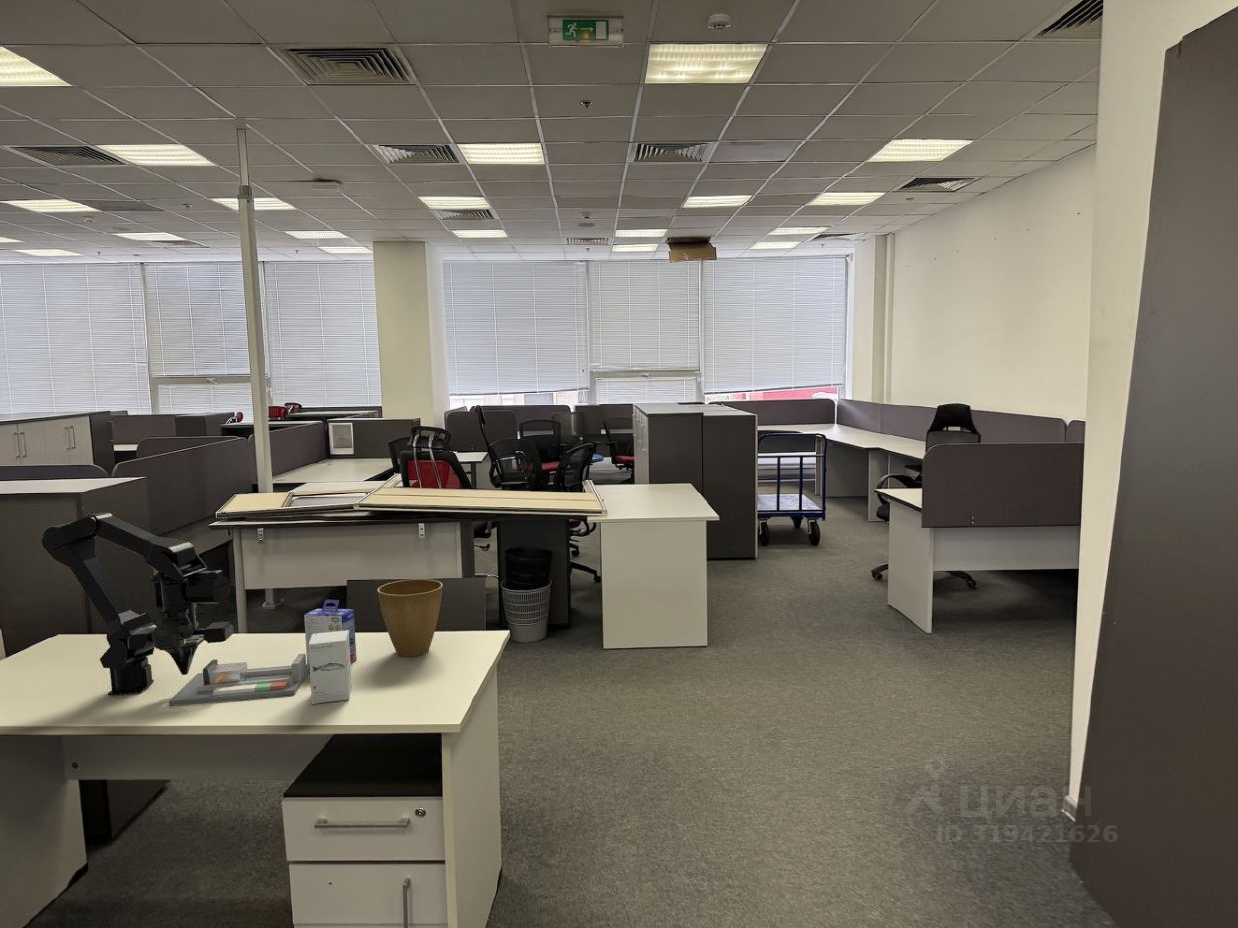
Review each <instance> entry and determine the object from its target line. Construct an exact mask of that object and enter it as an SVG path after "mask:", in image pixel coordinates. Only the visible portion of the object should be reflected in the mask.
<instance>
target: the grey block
mask: <svg viewBox="0 0 1238 928" xmlns="http://www.w3.org/2000/svg"><path fill="white" fill-rule="evenodd" d="M218 662H219V661H218V659H211V661H210V662H209V663H207V665H205V666H204V667H203V668H202V673H203V680H204V685H212V684H223V683H235V682H243V680H244V679H245V678H246V677H247V676H248V669H249V668H248V662H247V661H242V662H241V661H239V662H231V663H230V662H229V663H218Z"/></svg>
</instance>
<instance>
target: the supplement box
mask: <svg viewBox="0 0 1238 928" xmlns="http://www.w3.org/2000/svg"><path fill="white" fill-rule="evenodd" d="M309 664H310V672H309V674H310V675H309V676H310V680H309V681H310V692H311V693H310V694H311V696H310V697H311V704H312V705H316V704H321V703H322V704H323V703H331V702H337V701H348V700H350V695H351V690H352V668H351V666H352V665H351V664H352V663H350V646H349V630H346V631H337V632H326V633H316V634H312V636H311V639H310V642H309Z"/></svg>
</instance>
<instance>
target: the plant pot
mask: <svg viewBox="0 0 1238 928" xmlns="http://www.w3.org/2000/svg"><path fill="white" fill-rule="evenodd" d="M443 586H444V585H443V582H441V581H438V580H434V579H422V578H420V579H419V578H417V579H416V578H415V579H403V580H398V581H393V582H389V583H385V584H384V585H381V586H379V587H378V588H377V597H378V600H379V605H380V610H381V613H382V618H383V622H384V623H385V628H386V631H387V632H388V635H389V638H390V642H391V644H392V646H393V648H394V650H395V652H396V654H397V655H398V656H400V657H405V658H411V657H418V655H419V656H422V654H423V655H424V653H425V654H427V653H428V651H430V648H431V645H432V642H433V639H434V635H435V632H436V627H437V625H438V624H437V623H438V620H439V614H440V608H441V603H442V594H443ZM426 652H427V653H426Z"/></svg>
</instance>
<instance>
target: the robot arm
mask: <svg viewBox="0 0 1238 928" xmlns="http://www.w3.org/2000/svg"><path fill="white" fill-rule="evenodd" d="M96 537H100V538H102V539H104V540H107V541H109V542H111V543H113V544H115V545H117V546H119V547H121V548H124V549H126V550H128V551H130V552H133V553H135V554H137V555H139V556H141V558H143V559H144V561H145V562H146V564H147V565H148V566H149V567H150V568H152V569H154V570H155V571H157V573H156V575H155V576H153V577H152V578H151V579H150V583H153V584H155V583H156V584H160V586H161V587H160V588H161V600H162V609H163V610H161V611H160V620H159V623H158V624H157V625H155V623H154V622H153V621H152V619H151V617H150V615H149V614H148V613H147V612H144V613H142V614H138V613H136V612H134V611H132V609H131V608H130V606H129V605H128V604H127V602H126V600H125V599H124V597H123V596H122V594H121V592H120V591H119V589H118V588H117V587H116V584H115V583H114V582H113V580H112V578H111V576H109V574H108V573H107V571H106V570H105V568H104V567H103V564H102V563H101V562H100V560H99V559H98V558H97V556H96V550H97V549H96V548H97V541H96ZM41 545H42V546H43V548H44V549H45V551H46V553H47V554H49V555H50V556H51V557H52V559H54V561H56V562H58V563H60V564H62V565H64V566H67V567H68V568H69V569H70V571H71V572H72V573H73V575H74V576H75V578H76V579H77V581H78V583H79V585H80V586H81V587H82V588H83V590H84V592H85V593H86V595H87V596H88V597H89V599H90V600H91V602H92V604H93V605H94V607H95V609H96V610H97V611H98V613H99V615H100V616H101V617H102V620H103V621H104V622H105V624H106V641H107V644H108V645H109V648H108V649H107V650H105V652H104V653H103V655H101V657H100V658H99V661H100V665H101V666H102V668H103V669H109V674H110V685H111V690H109V692H108V693H107V696H109V695H110V696H121V695H129V694H131V695H132V694H141V693H143V692H144V691H145V690H146V689H147V688H149V686H150V685H152V684H153V683H154V682H155V680H154V679H153V672H152V665H151V664H150V663H149V658H148V657H149V656H152V655H153V654H154V651H155V649H156V650H159V651H164V652H166V653H167V654H169V655H170V657H171V658H172V660H173V661H174V663H175V665H176V666H177V668H178V670H179V671H180V674H181V675H182V676H186V675H188V674H189V671H190V669H191V665H192V663H193V659H194V657H195V655H196V651H197V649H198V648H199V646H200V645H201V644H202V643H203V642H204V641H205V642H207V643H208V644H213V643H223V642H226V641H227V640H229V638H230V637H232V635H234V626H233V624H232V623H231V621H220V622H212V623H211V624H210V625H208V626H207V627H205V628H199V626H200V623H199V621H197V616H196V609H197V608H198V604H216V605H217V604H223V603H225V602H227V600H228V599H229V597H230V595H231V592H232V585H231V582H230V580H229V578H228V577H226V576H224V575H223V574H224V573H223V570H221V569H215V570H209V567H208V566H207V564H206V563H205V561H204V560H203V559H202V558H201V556H200V555H199V554H198V552H197V551H196V550H195V546H194V545H193V544H192V543H190V541H187V540H184V539H183V540H182V539H179V538H174V537H162V536H160V535H159V536H157V535H155V534H153V533H150V531H147V530H144V529H142V528H140V527H138V526H135V525H133V524H131V523H128V522H127V521H124V520H122V519H120V518H118V517H115V516H114V515H113V514H112V513H110V512H106V511H105V512H104V511H103V512H98V513H93V514H88V515H86V516H85V517H83V518H80V519H78V520H75V521H74V522H69V523H65V524H59V525H56V526H51V527H48V528H47V529H45V531H44V532H43V535H42V539H41ZM120 694H121V695H120Z"/></svg>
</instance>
